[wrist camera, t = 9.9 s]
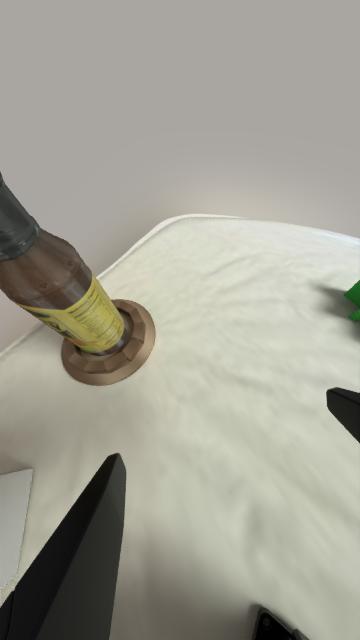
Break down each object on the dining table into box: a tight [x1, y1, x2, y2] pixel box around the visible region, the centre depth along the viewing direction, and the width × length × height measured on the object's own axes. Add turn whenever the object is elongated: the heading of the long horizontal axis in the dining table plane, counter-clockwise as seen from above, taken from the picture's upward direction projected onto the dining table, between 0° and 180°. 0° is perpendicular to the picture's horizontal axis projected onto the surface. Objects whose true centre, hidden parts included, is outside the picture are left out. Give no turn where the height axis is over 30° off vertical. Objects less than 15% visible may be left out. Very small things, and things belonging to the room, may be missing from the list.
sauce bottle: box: [0, 173, 127, 356], centre depth 17 cm, size 6×6×20 cm
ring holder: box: [62, 299, 155, 386], centre depth 25 cm, size 13×13×2 cm
